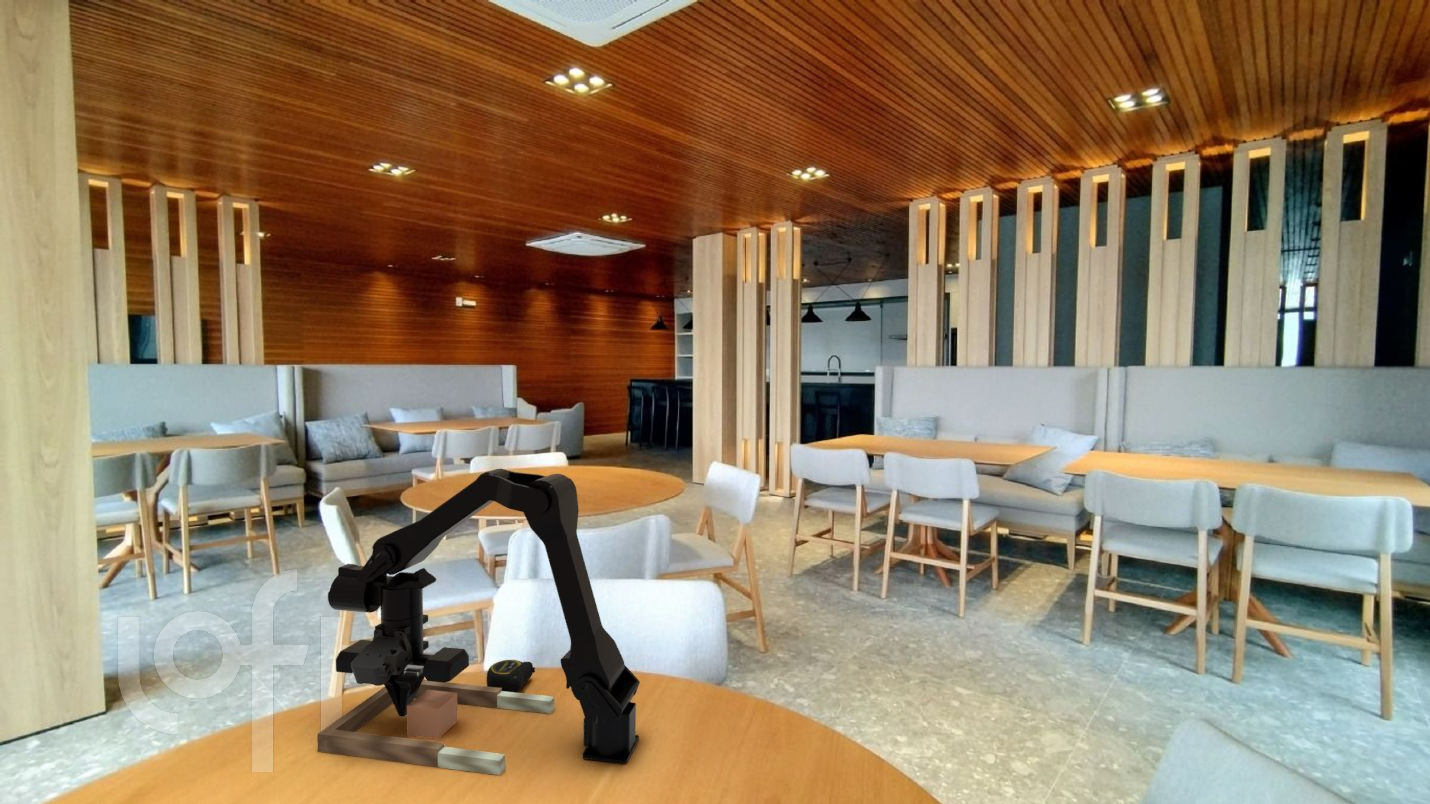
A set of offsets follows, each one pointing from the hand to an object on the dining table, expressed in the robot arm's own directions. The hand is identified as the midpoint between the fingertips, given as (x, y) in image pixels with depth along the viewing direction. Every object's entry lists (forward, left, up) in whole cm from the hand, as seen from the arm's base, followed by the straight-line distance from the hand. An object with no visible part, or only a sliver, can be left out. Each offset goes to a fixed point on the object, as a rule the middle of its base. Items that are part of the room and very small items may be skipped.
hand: (403, 715), depth 100 cm
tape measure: (-10, -14, -2) cm, 18 cm away
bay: (-7, 0, -1) cm, 7 cm away
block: (-5, 0, -2) cm, 5 cm away
